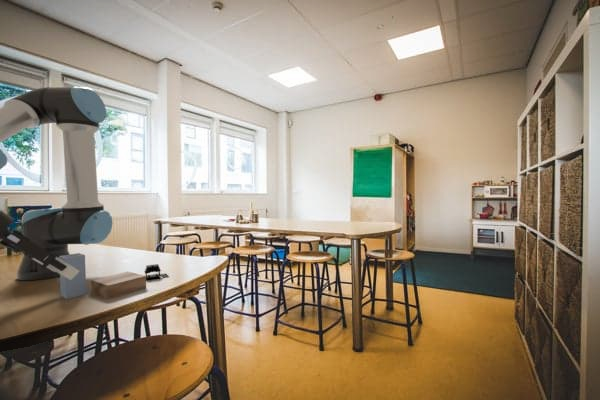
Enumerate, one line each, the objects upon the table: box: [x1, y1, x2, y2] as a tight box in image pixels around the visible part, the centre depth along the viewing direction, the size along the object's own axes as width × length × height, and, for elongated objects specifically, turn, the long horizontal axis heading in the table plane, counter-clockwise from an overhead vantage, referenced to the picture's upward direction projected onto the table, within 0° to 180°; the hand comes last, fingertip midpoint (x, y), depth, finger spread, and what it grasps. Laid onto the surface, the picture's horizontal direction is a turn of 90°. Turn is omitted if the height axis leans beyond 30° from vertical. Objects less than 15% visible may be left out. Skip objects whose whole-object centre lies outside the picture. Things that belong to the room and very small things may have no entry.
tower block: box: [59, 252, 87, 300], centre depth 78 cm, size 4×4×11 cm
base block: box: [90, 271, 147, 300], centre depth 81 cm, size 10×10×4 cm
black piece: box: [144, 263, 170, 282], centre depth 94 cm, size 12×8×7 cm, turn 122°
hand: (66, 271), depth 76 cm, fingers open, 13 cm apart
